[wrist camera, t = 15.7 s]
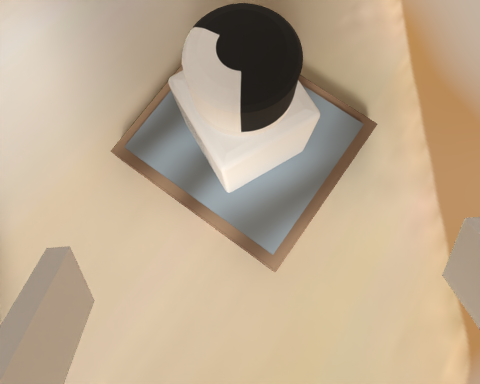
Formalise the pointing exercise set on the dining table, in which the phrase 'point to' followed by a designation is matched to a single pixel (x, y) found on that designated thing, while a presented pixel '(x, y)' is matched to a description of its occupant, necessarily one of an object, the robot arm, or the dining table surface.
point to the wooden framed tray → (256, 191)
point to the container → (244, 92)
